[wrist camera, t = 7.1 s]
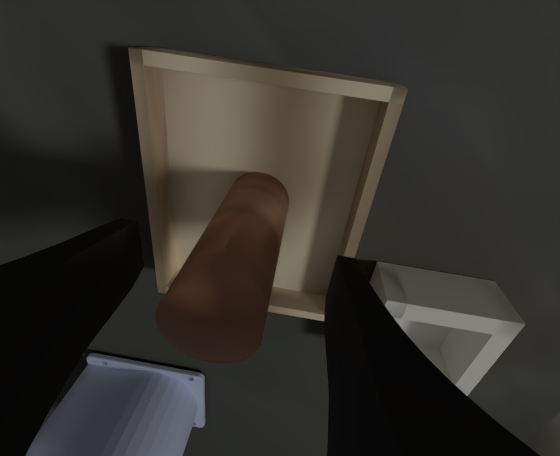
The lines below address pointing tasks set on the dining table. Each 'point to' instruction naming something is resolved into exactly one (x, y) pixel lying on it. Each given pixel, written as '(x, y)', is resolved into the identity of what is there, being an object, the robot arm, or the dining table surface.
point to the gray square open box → (449, 318)
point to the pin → (228, 275)
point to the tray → (261, 157)
